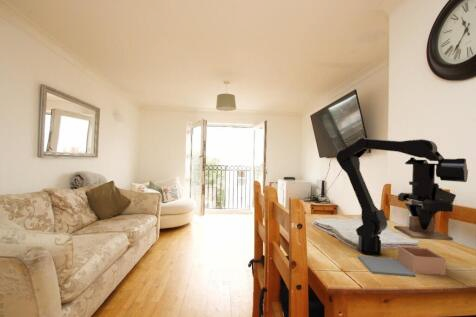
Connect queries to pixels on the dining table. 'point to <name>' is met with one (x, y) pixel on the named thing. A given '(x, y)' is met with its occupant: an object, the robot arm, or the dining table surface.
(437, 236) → the walnut lid
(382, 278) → the dining table surface
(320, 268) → the dining table surface
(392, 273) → the rubber mat
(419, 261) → the pink open tray
